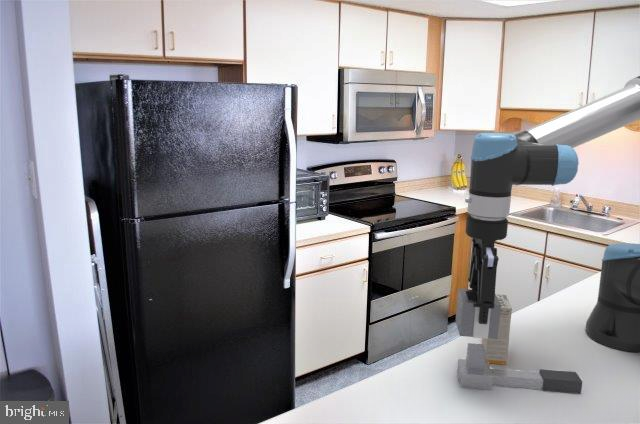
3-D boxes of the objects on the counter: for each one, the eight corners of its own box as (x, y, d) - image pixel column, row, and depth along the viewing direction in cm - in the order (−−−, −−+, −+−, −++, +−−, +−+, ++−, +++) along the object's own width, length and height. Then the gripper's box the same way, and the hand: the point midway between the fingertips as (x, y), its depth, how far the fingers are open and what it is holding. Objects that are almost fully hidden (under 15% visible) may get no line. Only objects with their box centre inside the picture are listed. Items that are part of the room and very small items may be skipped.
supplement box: (507, 365, 111) (513, 308, 108) (484, 363, 112) (489, 306, 109) (502, 347, 118) (507, 294, 116) (480, 345, 119) (485, 292, 117)
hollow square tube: (490, 323, 105) (494, 291, 103) (497, 339, 98) (501, 305, 97) (455, 320, 106) (458, 288, 104) (459, 335, 99) (463, 302, 98)
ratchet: (572, 380, 105) (576, 347, 103) (583, 397, 99) (587, 362, 97) (456, 371, 108) (459, 339, 106) (460, 387, 102) (463, 353, 100)
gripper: (460, 204, 107) (451, 307, 112) (475, 228, 88) (464, 351, 93) (497, 206, 106) (487, 309, 111) (521, 230, 87) (507, 354, 92)
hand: (477, 328), depth 102 cm, fingers closed on hollow square tube, 7 cm apart
